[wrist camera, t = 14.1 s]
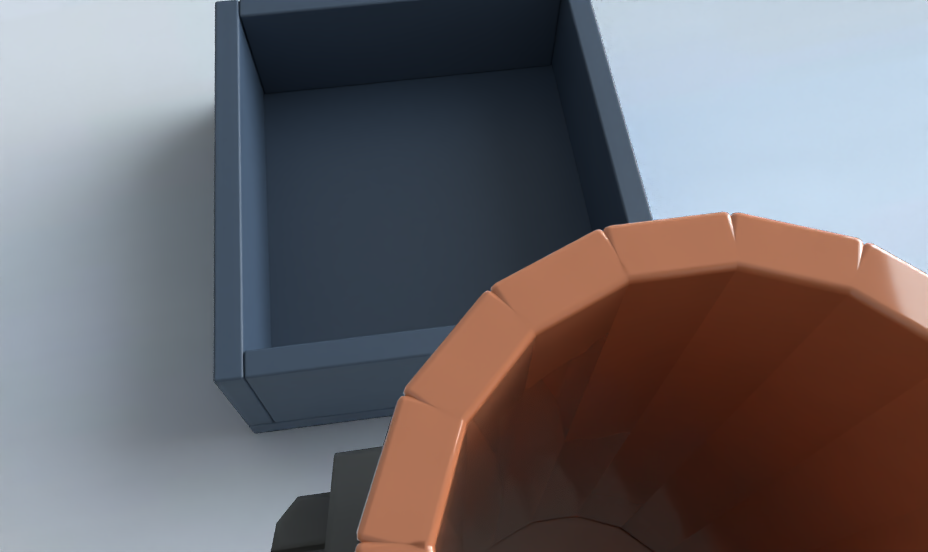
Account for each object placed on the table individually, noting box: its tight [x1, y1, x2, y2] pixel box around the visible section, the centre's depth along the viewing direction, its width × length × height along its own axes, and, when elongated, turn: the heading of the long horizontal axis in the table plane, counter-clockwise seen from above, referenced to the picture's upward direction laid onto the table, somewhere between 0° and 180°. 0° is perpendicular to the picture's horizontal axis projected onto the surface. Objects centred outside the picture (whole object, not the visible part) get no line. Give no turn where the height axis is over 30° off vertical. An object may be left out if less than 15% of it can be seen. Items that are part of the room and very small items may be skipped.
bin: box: [214, 0, 653, 433], centre depth 27 cm, size 13×14×5 cm
